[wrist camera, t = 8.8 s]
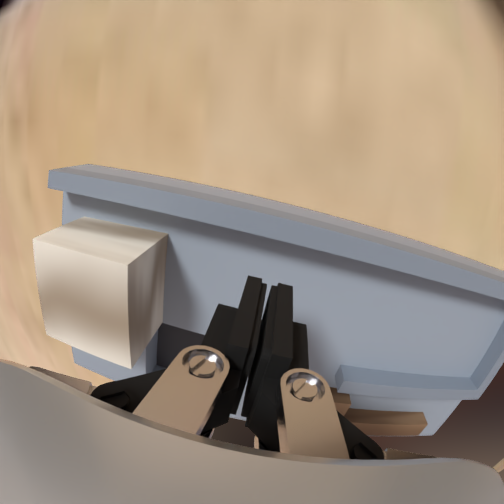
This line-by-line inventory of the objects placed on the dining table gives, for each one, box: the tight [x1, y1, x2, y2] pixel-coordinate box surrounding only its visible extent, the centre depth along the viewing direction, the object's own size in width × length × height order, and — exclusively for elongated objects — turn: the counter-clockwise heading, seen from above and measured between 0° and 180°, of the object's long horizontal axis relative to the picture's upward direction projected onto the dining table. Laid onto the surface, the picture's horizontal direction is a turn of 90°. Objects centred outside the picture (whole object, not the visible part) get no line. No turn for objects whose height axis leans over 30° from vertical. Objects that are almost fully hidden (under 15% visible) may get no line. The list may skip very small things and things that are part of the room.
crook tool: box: [330, 387, 428, 436], centre depth 17 cm, size 3×9×1 cm, turn 77°
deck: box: [48, 164, 504, 436], centre depth 17 cm, size 15×31×4 cm, turn 77°
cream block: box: [33, 216, 168, 369], centre depth 14 cm, size 6×6×4 cm
